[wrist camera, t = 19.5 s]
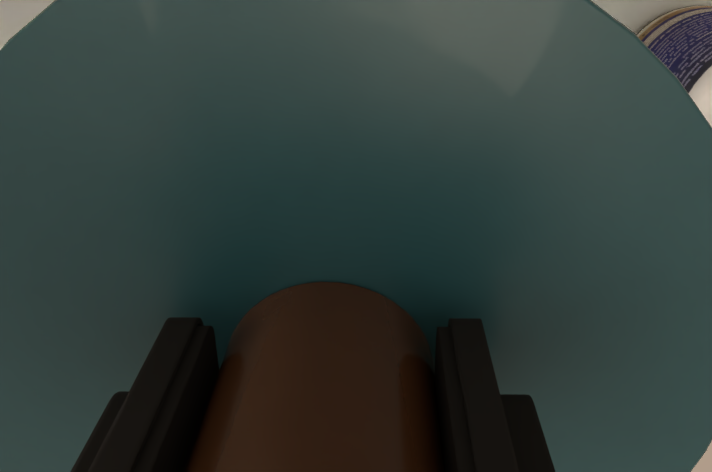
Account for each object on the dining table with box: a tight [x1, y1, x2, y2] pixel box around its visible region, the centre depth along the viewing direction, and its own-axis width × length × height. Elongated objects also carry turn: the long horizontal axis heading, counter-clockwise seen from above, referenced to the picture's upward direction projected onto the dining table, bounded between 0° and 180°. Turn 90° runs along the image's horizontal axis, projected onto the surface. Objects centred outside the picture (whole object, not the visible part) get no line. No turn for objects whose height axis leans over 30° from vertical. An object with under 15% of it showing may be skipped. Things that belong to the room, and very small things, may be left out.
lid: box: [0, 0, 712, 472], centre depth 10 cm, size 15×15×7 cm
